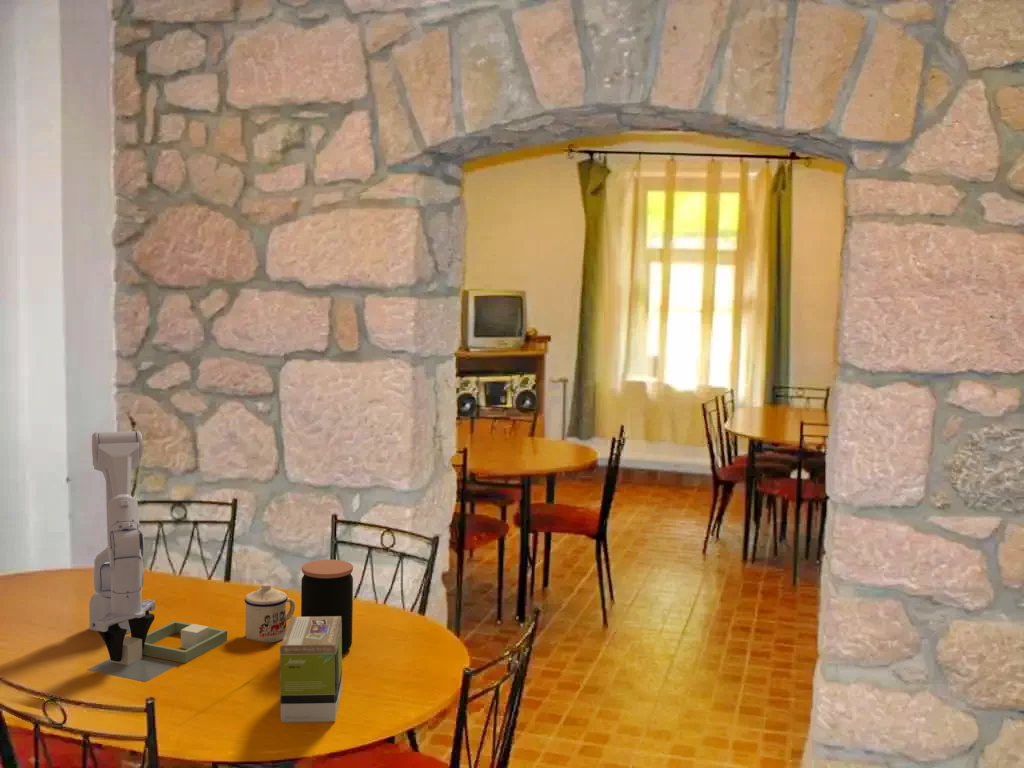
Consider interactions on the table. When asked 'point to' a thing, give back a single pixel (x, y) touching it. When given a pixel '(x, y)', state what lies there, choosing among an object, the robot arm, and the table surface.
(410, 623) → the table surface
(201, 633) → the stone cube far
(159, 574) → the table surface
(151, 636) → the olive dish
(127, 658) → the stone cube near
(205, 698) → the table surface
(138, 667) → the slate board
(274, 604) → the teacup with lid
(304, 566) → the coffee jar
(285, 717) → the tea box
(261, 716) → the table surface
